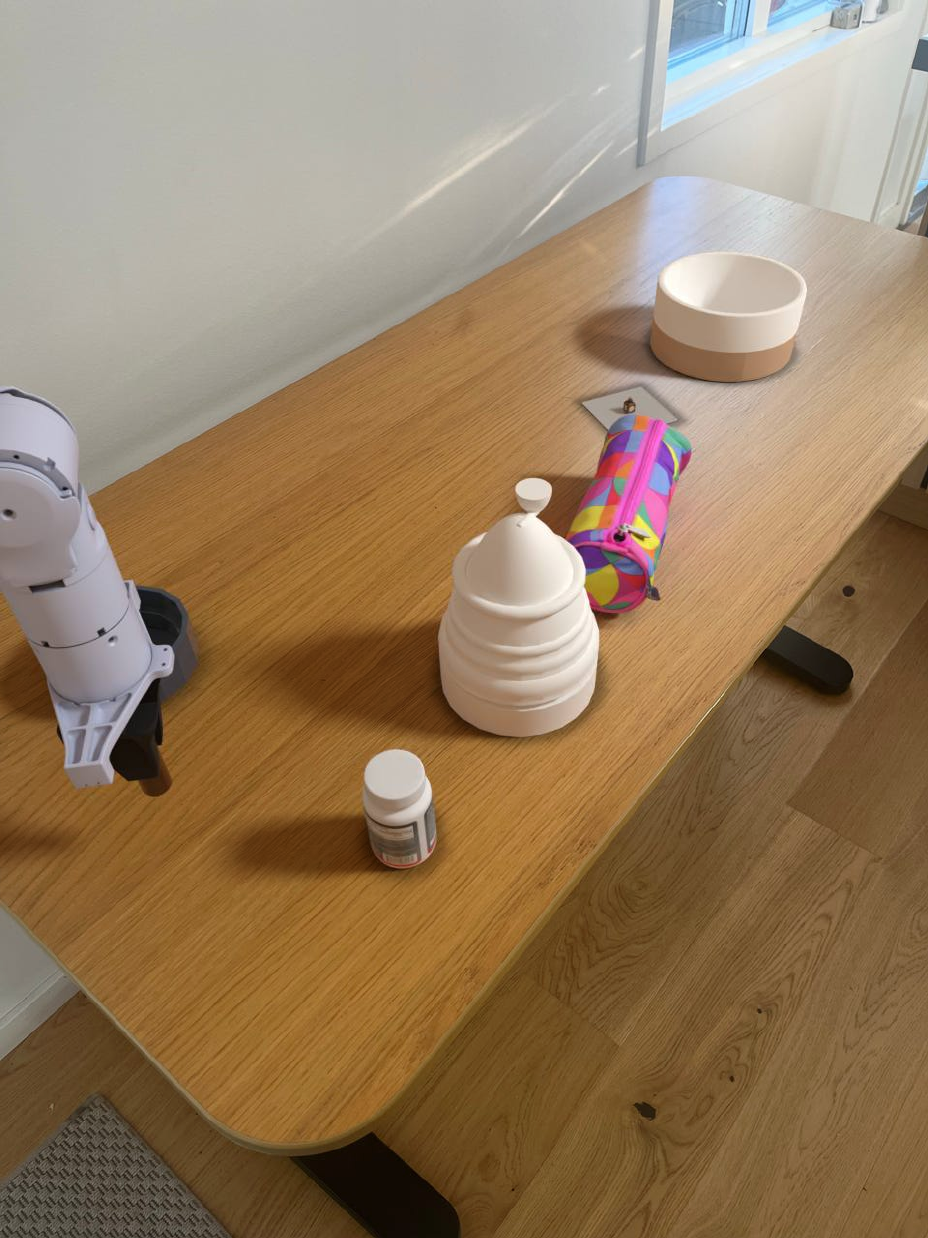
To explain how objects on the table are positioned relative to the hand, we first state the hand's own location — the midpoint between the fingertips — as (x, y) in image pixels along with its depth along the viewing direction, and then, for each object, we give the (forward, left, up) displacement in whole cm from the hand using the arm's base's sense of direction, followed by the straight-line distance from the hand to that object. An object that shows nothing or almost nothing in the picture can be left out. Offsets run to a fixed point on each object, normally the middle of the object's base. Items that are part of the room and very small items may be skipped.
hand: (145, 759), depth 59 cm
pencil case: (+40, +25, -10) cm, 48 cm away
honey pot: (+27, +11, -10) cm, 31 cm away
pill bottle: (+16, -3, -10) cm, 19 cm away
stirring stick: (0, 0, -3) cm, 3 cm away
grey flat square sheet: (+47, +48, -10) cm, 68 cm away
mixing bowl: (-5, +18, -9) cm, 20 cm away
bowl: (+62, +60, -10) cm, 87 cm away
